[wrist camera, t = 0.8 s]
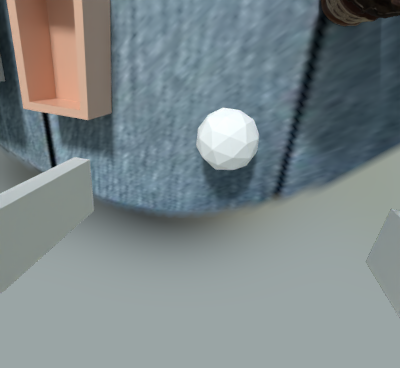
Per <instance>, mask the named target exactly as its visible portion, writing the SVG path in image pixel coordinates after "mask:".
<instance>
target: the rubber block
mask: <svg viewBox="0 0 400 368" xmlns="http://www.w3.org/2000/svg"><path fill="white" fill-rule="evenodd" d="M0 81H5V77H4V71H3V66H2V60H1V54H0Z"/></svg>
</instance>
